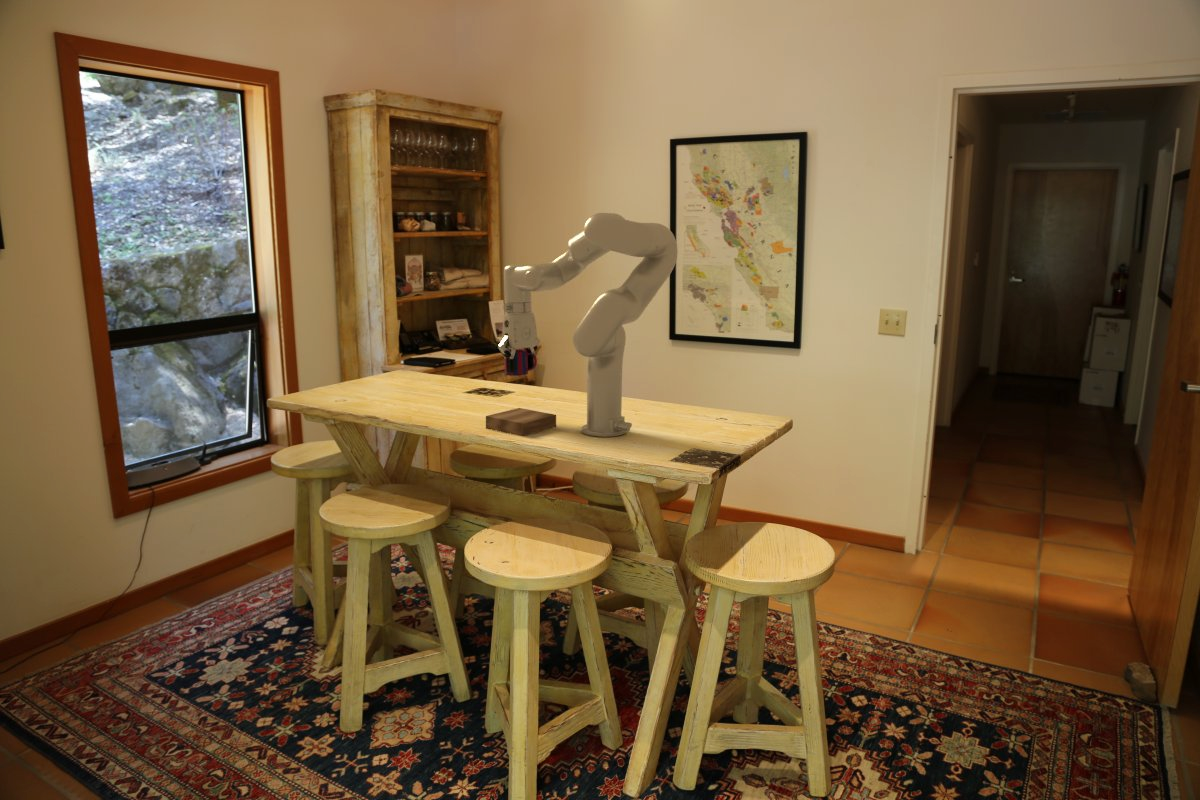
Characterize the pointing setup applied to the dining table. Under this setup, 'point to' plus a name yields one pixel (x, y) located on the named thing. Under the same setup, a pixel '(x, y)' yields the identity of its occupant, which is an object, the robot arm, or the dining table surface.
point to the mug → (521, 362)
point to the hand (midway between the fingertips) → (520, 370)
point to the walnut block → (521, 421)
